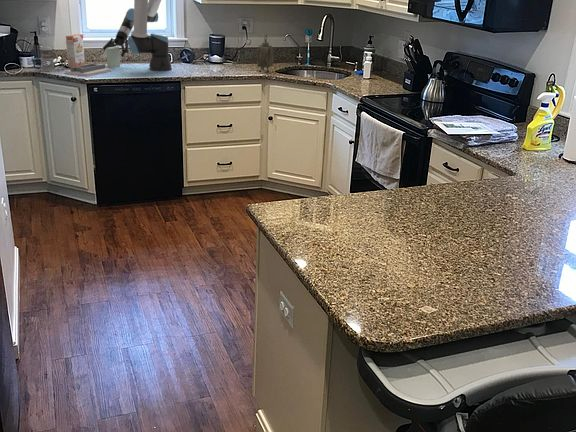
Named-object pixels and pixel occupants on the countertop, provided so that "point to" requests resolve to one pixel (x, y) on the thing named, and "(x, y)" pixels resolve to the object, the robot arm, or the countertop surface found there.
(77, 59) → the cracker box
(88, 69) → the grey flat block
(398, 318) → the countertop surface
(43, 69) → the french press
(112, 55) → the door panel
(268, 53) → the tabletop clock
